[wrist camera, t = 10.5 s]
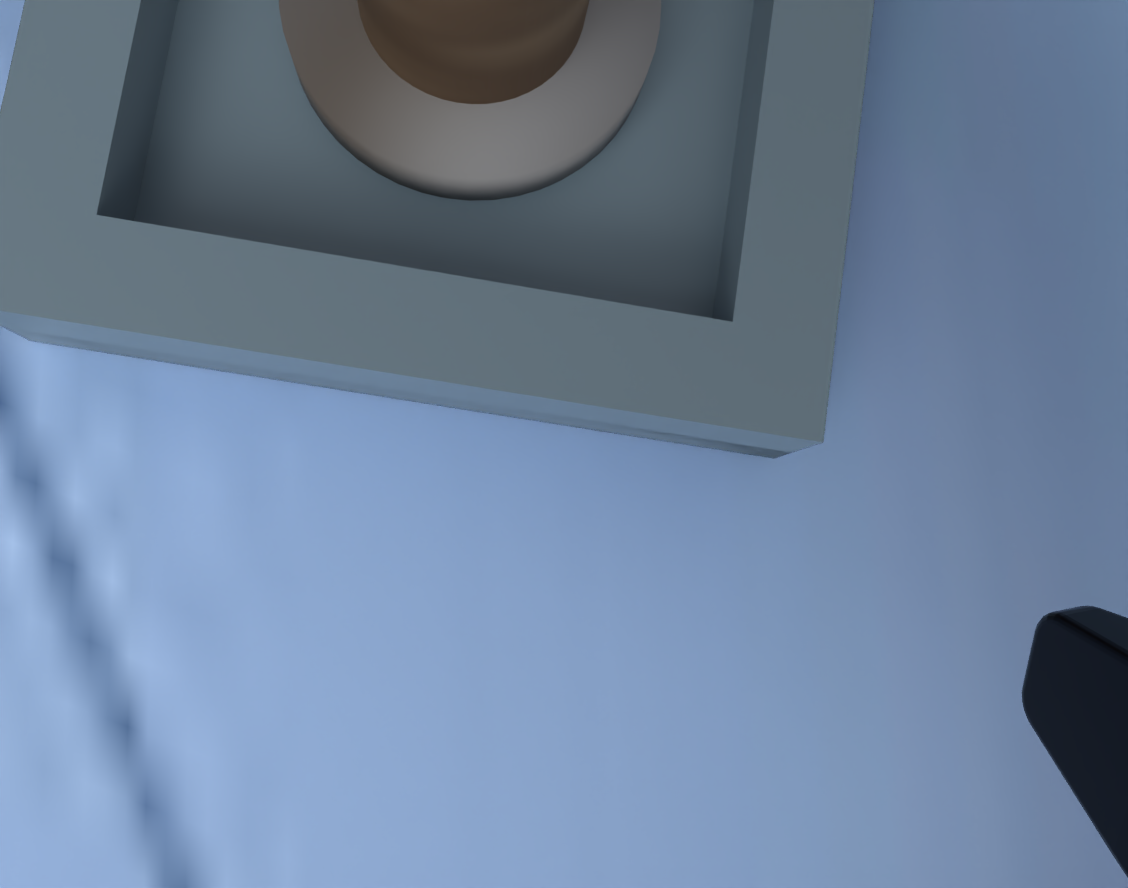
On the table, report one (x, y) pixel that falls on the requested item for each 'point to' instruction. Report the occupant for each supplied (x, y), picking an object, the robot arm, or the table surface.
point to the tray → (443, 225)
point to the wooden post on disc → (472, 85)
